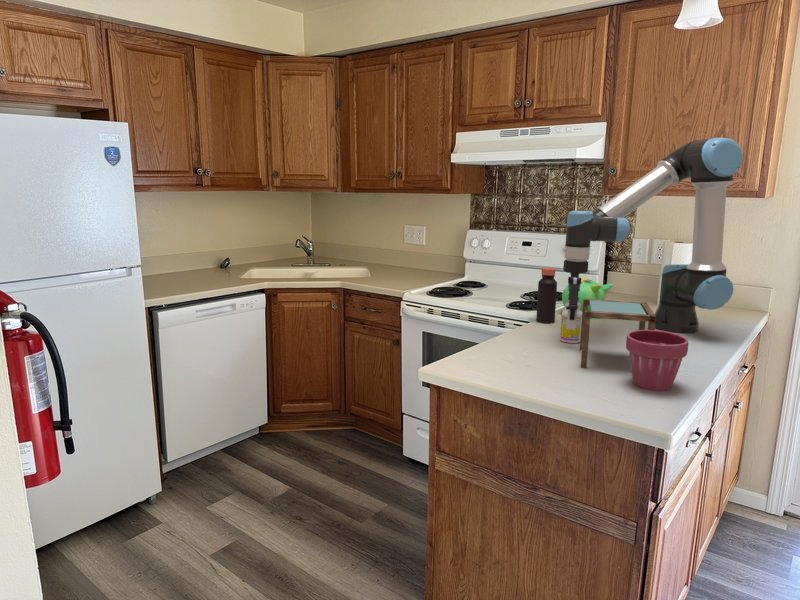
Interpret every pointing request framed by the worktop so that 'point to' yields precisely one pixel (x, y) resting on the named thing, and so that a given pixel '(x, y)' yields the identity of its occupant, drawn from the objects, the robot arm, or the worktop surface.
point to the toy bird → (587, 292)
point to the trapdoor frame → (609, 315)
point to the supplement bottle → (571, 335)
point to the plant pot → (655, 357)
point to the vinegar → (546, 296)
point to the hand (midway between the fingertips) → (570, 324)
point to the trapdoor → (617, 307)
